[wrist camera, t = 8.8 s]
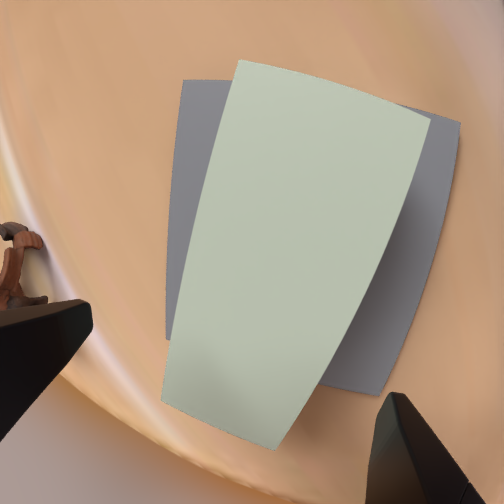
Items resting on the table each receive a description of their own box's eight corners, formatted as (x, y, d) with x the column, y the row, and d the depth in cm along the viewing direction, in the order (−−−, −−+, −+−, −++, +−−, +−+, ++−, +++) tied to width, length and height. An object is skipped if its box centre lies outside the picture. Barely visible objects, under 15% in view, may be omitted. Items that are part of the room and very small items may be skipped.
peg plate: (455, 124, 14) (481, 117, 10) (378, 387, 20) (379, 426, 16) (190, 82, 18) (156, 70, 14) (172, 332, 24) (144, 360, 20)
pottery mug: (8, 270, 31) (-41, 256, 23) (52, 218, 31) (3, 193, 23) (44, 355, 28) (-11, 357, 20) (96, 304, 28) (39, 295, 20)
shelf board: (407, 129, 12) (430, 119, 8) (290, 402, 18) (274, 450, 14) (267, 83, 13) (239, 59, 9) (192, 360, 19) (160, 400, 15)
